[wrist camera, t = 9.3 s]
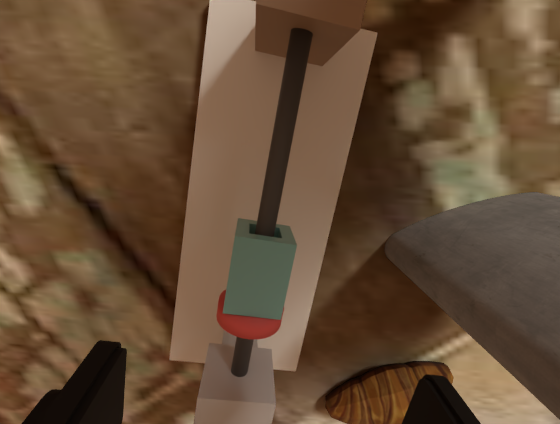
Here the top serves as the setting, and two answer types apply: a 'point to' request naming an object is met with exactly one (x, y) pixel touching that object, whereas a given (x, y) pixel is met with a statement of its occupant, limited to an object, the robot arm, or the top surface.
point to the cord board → (264, 183)
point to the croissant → (381, 393)
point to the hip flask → (495, 280)
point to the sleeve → (259, 271)
